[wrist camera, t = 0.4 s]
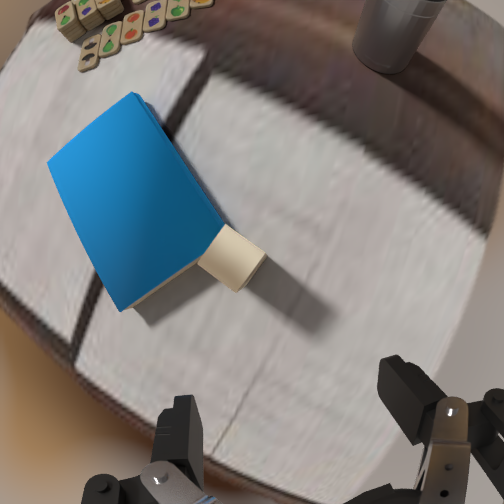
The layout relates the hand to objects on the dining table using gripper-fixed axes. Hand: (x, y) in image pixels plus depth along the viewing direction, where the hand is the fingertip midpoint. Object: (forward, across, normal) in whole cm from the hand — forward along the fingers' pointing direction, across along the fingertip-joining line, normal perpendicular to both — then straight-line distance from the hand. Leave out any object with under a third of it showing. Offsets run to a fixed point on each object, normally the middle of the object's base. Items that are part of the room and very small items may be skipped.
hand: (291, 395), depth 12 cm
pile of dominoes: (+46, +11, -48) cm, 67 cm away
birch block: (+28, 0, +2) cm, 28 cm away
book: (+34, +13, -7) cm, 37 cm away
